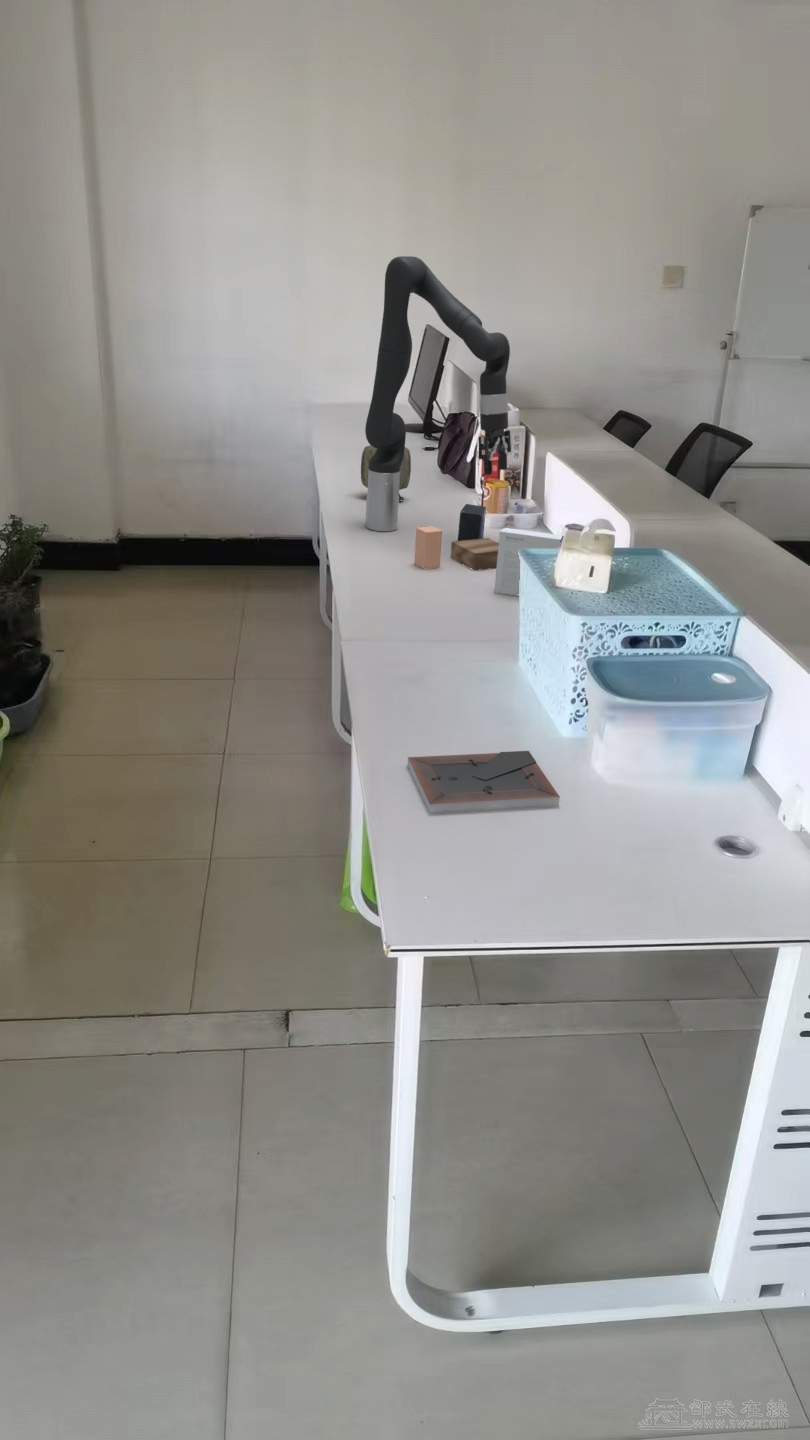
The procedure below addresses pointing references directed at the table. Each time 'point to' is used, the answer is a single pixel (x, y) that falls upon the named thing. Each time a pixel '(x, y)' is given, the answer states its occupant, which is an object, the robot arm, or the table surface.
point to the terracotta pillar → (428, 547)
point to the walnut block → (476, 553)
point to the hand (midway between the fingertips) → (495, 472)
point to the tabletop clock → (404, 468)
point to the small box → (471, 522)
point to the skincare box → (509, 555)
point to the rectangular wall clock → (481, 781)
